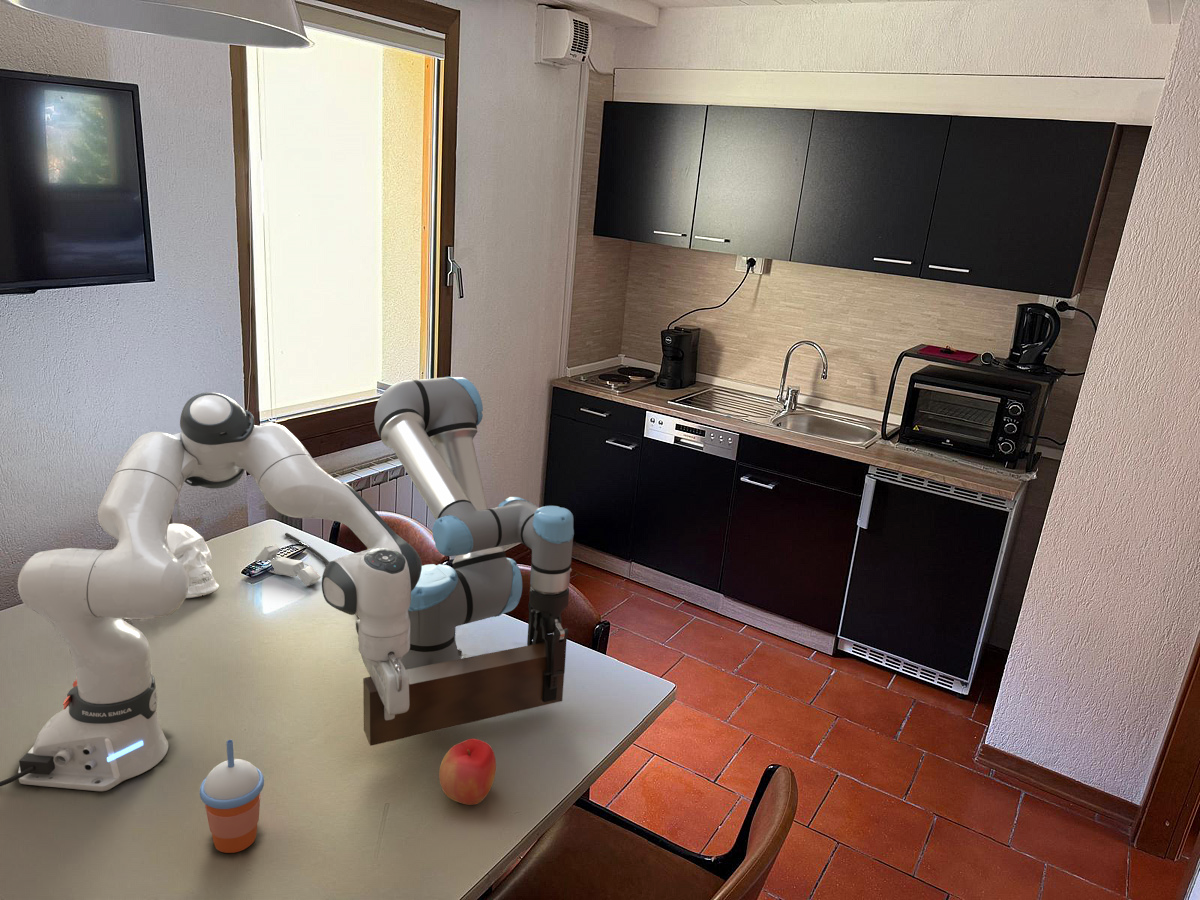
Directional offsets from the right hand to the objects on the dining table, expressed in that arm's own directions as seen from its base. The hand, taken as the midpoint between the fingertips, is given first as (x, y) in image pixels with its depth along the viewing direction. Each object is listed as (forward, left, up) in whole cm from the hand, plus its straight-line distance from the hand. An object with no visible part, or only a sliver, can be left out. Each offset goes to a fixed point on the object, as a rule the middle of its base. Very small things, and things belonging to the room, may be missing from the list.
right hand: (543, 692), depth 170 cm
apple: (+2, -28, -5) cm, 29 cm away
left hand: (-18, -26, +4) cm, 32 cm away
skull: (-101, -4, -5) cm, 101 cm away
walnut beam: (-9, -13, -1) cm, 16 cm away
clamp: (-86, +15, -5) cm, 87 cm away
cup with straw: (-23, -55, -5) cm, 60 cm away
